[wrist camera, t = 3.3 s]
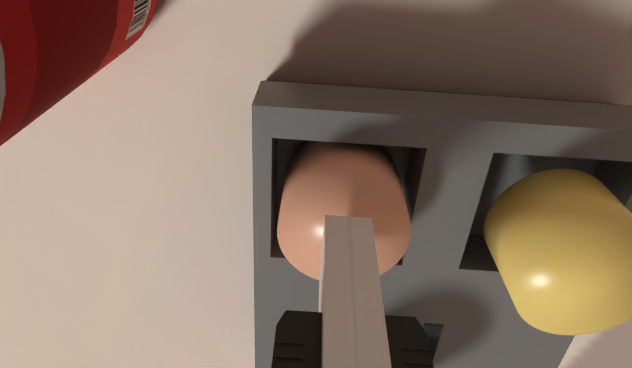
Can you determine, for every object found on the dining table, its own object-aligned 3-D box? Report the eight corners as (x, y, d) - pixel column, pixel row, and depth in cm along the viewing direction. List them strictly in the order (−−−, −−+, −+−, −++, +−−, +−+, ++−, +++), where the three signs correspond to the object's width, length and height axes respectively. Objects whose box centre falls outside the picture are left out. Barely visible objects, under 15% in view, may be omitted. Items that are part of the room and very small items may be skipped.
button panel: (265, 68, 19) (251, 105, 16) (620, 93, 19) (682, 134, 16) (264, 334, 28) (255, 395, 25) (509, 349, 28) (534, 411, 25)
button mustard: (502, 164, 17) (540, 222, 14) (633, 173, 17) (698, 232, 14) (470, 264, 19) (496, 331, 16) (584, 271, 19) (631, 339, 16)
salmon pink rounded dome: (286, 128, 18) (278, 173, 15) (407, 136, 18) (422, 182, 15) (283, 225, 21) (275, 279, 18) (389, 232, 21) (399, 287, 18)
